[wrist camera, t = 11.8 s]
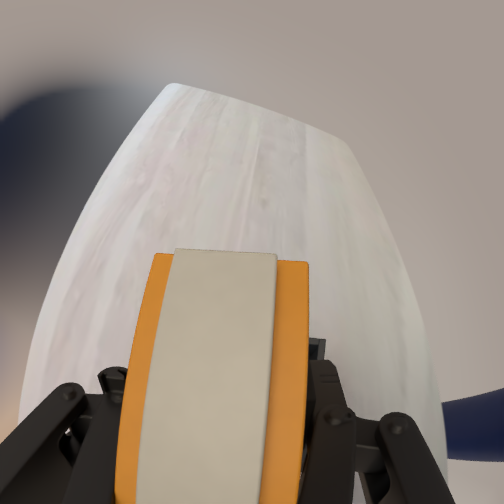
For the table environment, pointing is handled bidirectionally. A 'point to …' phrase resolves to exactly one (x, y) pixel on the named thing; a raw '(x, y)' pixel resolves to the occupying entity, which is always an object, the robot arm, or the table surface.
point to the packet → (216, 382)
